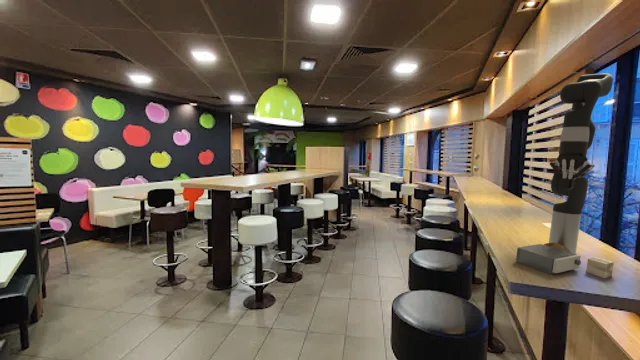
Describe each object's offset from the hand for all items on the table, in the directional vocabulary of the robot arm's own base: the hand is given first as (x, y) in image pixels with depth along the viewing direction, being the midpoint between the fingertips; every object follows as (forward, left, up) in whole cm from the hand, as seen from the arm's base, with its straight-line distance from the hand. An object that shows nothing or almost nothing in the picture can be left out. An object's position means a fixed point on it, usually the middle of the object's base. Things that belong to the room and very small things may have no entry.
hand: (567, 189), depth 104 cm
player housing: (+4, -2, -29) cm, 29 cm away
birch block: (-7, +9, -29) cm, 31 cm away
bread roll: (-10, -7, -29) cm, 32 cm away
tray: (+3, -1, -28) cm, 28 cm away
